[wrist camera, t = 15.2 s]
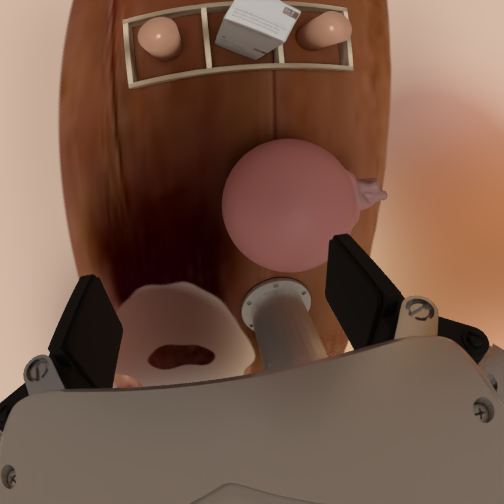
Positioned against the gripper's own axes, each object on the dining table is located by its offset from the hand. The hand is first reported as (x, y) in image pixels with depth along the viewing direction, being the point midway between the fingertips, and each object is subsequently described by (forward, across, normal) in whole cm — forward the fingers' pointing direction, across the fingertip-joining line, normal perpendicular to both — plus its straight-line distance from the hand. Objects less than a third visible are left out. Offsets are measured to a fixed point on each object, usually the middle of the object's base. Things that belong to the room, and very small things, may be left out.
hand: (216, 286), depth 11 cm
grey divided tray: (+28, -6, -15) cm, 33 cm away
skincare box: (+28, -6, -15) cm, 33 cm away
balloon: (+28, -11, +6) cm, 31 cm away
